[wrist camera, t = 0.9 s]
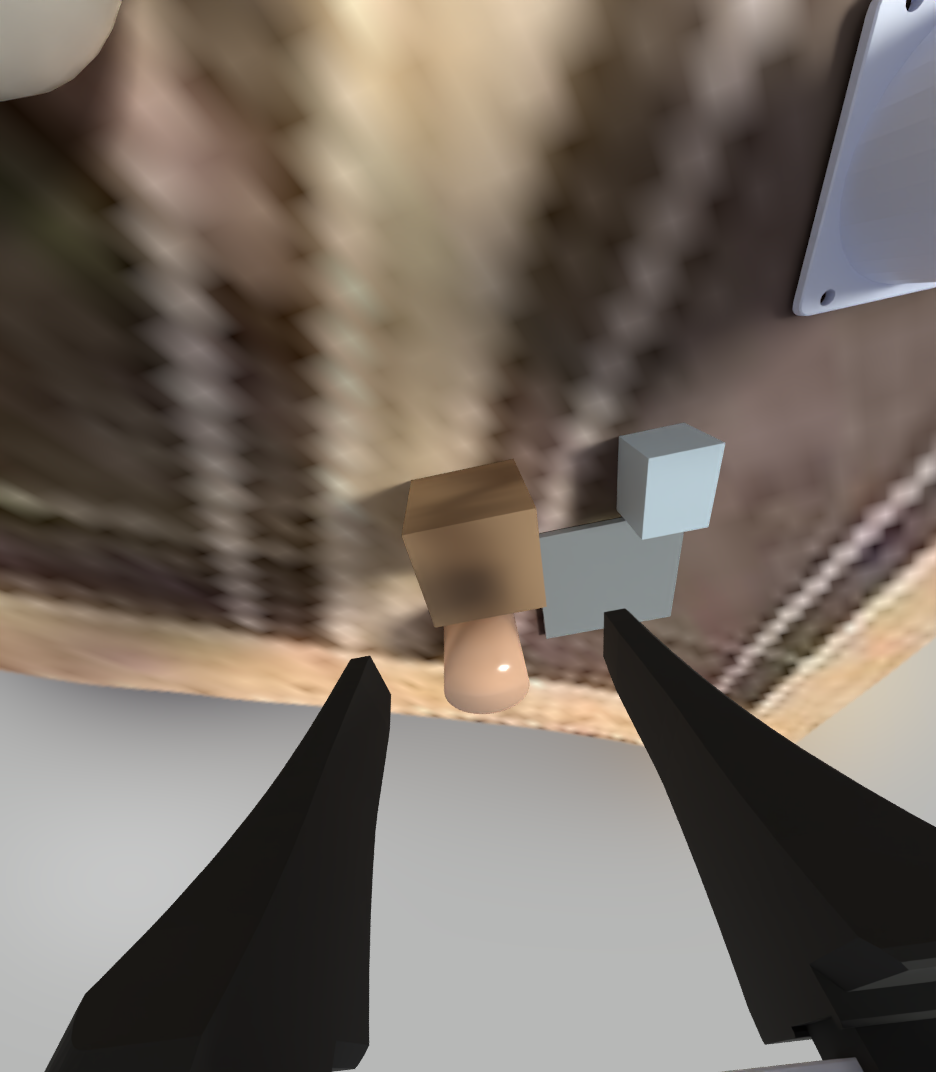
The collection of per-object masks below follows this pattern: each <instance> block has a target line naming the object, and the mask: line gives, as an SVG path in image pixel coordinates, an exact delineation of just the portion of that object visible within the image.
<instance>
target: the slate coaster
mask: <svg viewBox="0 0 936 1072" xmlns="http://www.w3.org/2000/svg"><path fill="white" fill-rule="evenodd" d="M683 534H684V532H680V533H675V534H670V535H665V536H659V537H654V538H649V539H644V540H642V539H641V538H640V537H639V536H638V535H637V533H636V532H635V531H634V530H633V529H632V528H631V526H630V525H629V524H628V523H627V522H626V520H625V519H624V518H623V517H621V518H616V519H611V520H606V521H601V522H596V523H591V524H586V525H581V526H576V527H571V528H566V529H561V530H556V531H551V532H546V533H540V534H539V540H540V549H541V558H542V568H543V577H544V586H545V596H546V605H547V607H543V608H542V613H543V621H544V630H545V636H546V639H548V638H553V637H559V636H564V635H570V634H575V633H581V632H586V631H592V630H597V629H603V628H604V612H607V611H613V610H618V609H624V608H625V609H627V610H628V611H629V612H630V613H631V614H632V615H633V616H634V617H635V618H636V619H637V620H638V621H639V622H641V621H647V620H652V619H658V618H663V617H669V616H671V610H672V603H673V597H674V591H675V584H676V578H677V572H678V565H679V559H680V553H681V546H682V540H683Z"/></svg>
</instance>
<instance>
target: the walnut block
mask: <svg viewBox="0 0 936 1072" xmlns="http://www.w3.org/2000/svg"><path fill="white" fill-rule="evenodd" d="M402 538H403V541H404V544H405V546H406V549H407V552H408V555H409V557H410V560H411V563H412V566H413V569H414V571H415V574H416V577H417V580H418V582H419V585H420V588H421V591H422V593H423V596H424V599H425V602H426V604H427V607H428V610H429V613H430V616H431V618H432V621H433V624H434V627H435V628H436V627H441V626H447V625H452V624H458V623H463V622H468V621H474V620H479V619H484V618H490V617H495V616H500V615H506V614H511V613H516V612H522V611H527V610H532V609H538V608H543V607H547V605H546V596H545V586H544V577H543V568H542V558H541V549H540V540H539V531H538V521H537V512H536V507H535V505H534V503H533V500H532V498H531V496H530V494H529V492H528V490H527V487H526V485H525V483H524V481H523V479H522V476H521V474H520V472H519V470H518V468H517V466H516V463H515V461H514V459H510V460H505V461H501V462H496V463H491V464H487V465H482V466H477V467H472V468H468V469H463V470H458V471H453V472H449V473H444V474H439V475H435V476H430V477H425V478H420V479H416V480H411V485H410V491H409V496H408V502H407V507H406V513H405V519H404V524H403V530H402Z"/></svg>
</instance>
